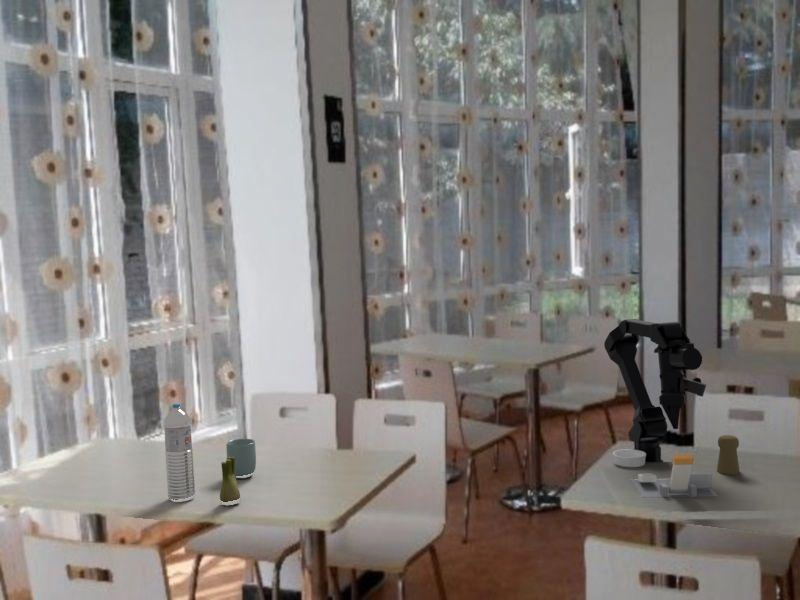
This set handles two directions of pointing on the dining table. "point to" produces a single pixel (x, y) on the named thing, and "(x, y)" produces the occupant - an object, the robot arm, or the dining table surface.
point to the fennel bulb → (229, 481)
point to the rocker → (647, 477)
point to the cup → (242, 455)
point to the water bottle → (179, 454)
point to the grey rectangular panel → (701, 479)
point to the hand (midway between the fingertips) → (675, 428)
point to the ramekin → (629, 458)
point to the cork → (728, 455)
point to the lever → (680, 473)
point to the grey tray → (662, 489)
